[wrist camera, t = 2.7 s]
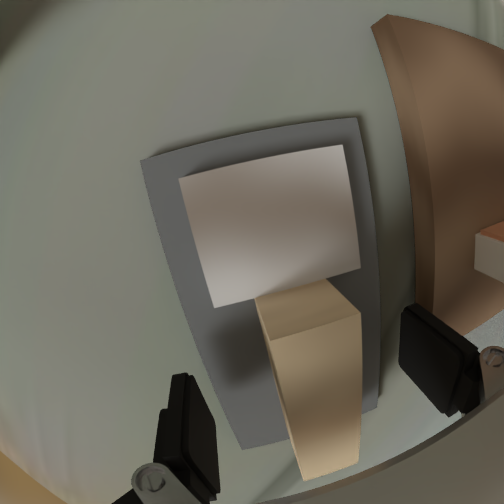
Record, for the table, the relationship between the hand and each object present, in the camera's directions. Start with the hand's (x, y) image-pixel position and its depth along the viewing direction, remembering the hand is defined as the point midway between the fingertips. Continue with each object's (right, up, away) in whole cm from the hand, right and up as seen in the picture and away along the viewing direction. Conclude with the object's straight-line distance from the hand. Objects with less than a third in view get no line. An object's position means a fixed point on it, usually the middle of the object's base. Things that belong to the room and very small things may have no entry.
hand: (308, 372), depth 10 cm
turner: (0, +2, +1) cm, 2 cm away
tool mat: (-1, +2, +2) cm, 3 cm away
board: (+12, +9, +1) cm, 15 cm away
